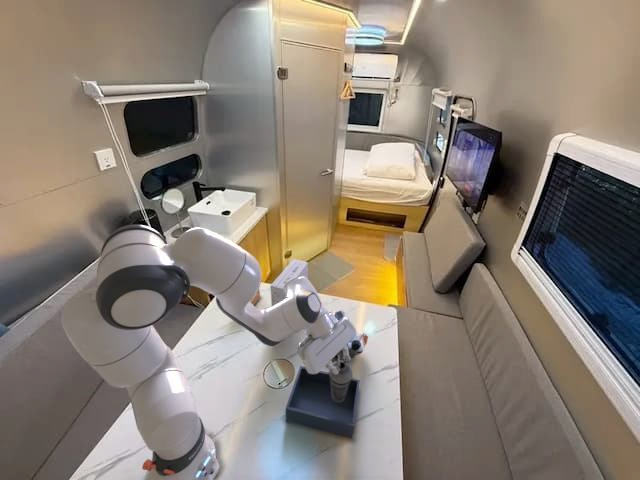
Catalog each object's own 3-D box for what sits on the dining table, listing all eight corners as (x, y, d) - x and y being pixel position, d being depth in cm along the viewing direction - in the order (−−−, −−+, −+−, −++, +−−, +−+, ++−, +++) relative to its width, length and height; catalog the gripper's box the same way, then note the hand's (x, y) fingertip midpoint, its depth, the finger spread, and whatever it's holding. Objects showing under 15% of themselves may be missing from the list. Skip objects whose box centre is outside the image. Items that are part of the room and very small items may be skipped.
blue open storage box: (352, 439, 85) (354, 427, 82) (286, 420, 89) (285, 408, 86) (357, 392, 98) (359, 379, 95) (300, 377, 102) (300, 365, 99)
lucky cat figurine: (343, 332, 122) (361, 316, 114) (358, 357, 116) (378, 342, 109) (319, 343, 111) (337, 325, 104) (335, 371, 105) (355, 354, 98)
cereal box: (288, 335, 120) (286, 290, 107) (273, 329, 122) (270, 285, 110) (307, 303, 137) (308, 262, 125) (294, 299, 140) (293, 258, 127)
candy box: (250, 308, 133) (247, 283, 125) (243, 306, 134) (240, 281, 127) (260, 297, 140) (258, 273, 133) (253, 295, 141) (250, 271, 134)
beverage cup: (347, 409, 86) (353, 368, 76) (325, 404, 87) (328, 363, 77) (350, 387, 92) (356, 347, 82) (329, 383, 93) (332, 343, 83)
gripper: (300, 346, 73) (326, 392, 72) (346, 307, 86) (368, 345, 86) (289, 348, 78) (313, 391, 77) (334, 310, 91) (355, 347, 90)
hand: (343, 367), depth 81 cm, fingers closed on beverage cup, 4 cm apart
